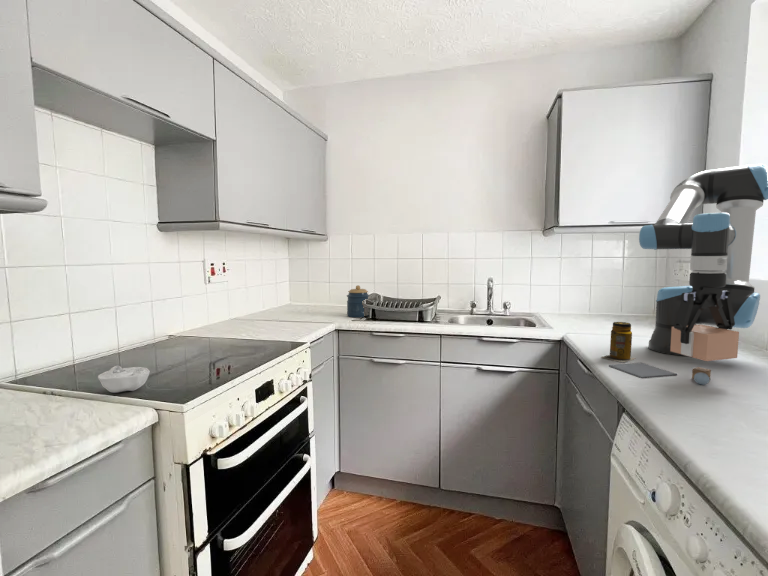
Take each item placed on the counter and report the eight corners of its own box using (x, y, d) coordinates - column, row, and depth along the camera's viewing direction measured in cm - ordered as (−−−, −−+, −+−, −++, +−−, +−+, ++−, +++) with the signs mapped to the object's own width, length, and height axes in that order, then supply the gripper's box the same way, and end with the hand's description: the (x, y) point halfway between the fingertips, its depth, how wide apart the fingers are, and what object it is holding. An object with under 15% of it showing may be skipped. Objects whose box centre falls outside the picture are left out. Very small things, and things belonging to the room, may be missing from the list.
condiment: (636, 359, 129) (638, 323, 128) (623, 363, 124) (625, 326, 123) (613, 354, 135) (614, 320, 134) (600, 358, 130) (602, 322, 129)
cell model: (135, 398, 97) (133, 371, 96) (88, 398, 97) (86, 371, 96) (159, 384, 107) (158, 360, 106) (116, 384, 107) (115, 360, 107)
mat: (641, 363, 123) (641, 362, 123) (676, 375, 111) (676, 373, 111) (608, 366, 121) (608, 364, 121) (641, 378, 109) (641, 376, 109)
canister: (344, 317, 217) (343, 286, 215) (350, 314, 229) (349, 284, 228) (367, 318, 215) (366, 286, 213) (371, 314, 227) (371, 284, 226)
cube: (697, 377, 110) (698, 367, 109) (710, 380, 107) (710, 369, 107) (691, 379, 108) (692, 368, 108) (704, 382, 106) (705, 371, 105)
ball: (700, 381, 105) (700, 370, 105) (712, 385, 102) (713, 374, 102) (690, 382, 105) (691, 371, 104) (702, 386, 102) (703, 374, 101)
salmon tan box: (699, 348, 111) (700, 324, 111) (737, 357, 102) (739, 331, 101) (670, 351, 109) (671, 326, 109) (706, 361, 100) (708, 334, 99)
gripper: (686, 274, 97) (681, 360, 99) (757, 271, 102) (751, 353, 104) (659, 272, 104) (655, 353, 107) (726, 269, 109) (721, 346, 111)
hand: (702, 353), depth 105 cm, fingers closed on salmon tan box, 10 cm apart
